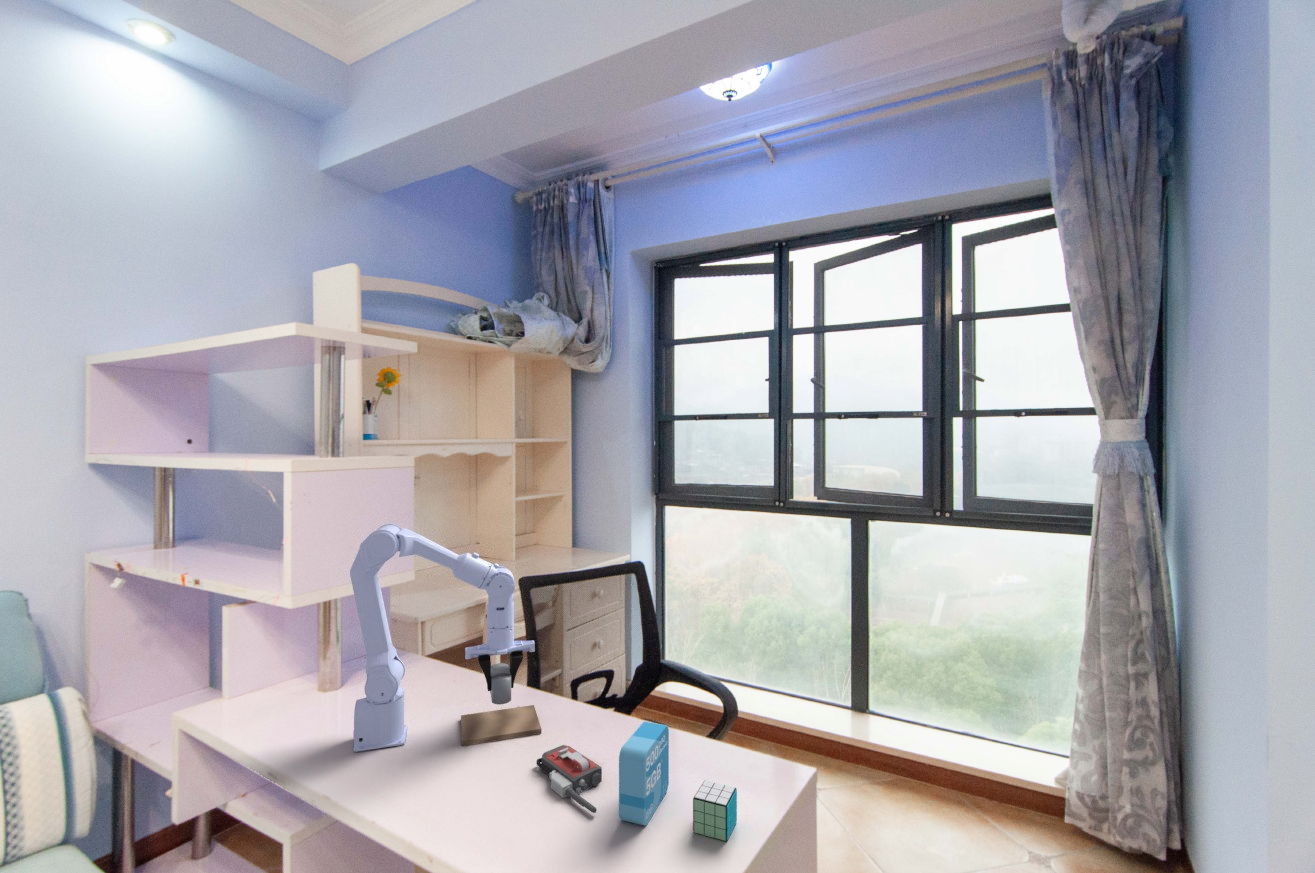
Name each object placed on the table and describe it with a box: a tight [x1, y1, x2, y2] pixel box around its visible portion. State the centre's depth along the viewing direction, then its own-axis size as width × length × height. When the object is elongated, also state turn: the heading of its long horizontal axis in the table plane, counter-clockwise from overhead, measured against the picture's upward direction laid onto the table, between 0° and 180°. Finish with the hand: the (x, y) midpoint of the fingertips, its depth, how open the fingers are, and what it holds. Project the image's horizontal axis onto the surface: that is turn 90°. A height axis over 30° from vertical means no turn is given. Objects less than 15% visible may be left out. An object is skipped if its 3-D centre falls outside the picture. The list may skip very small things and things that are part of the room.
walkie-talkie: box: [535, 744, 603, 814], centre depth 109 cm, size 9×4×20 cm
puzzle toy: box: [692, 779, 738, 842], centre depth 97 cm, size 6×6×6 cm
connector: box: [489, 662, 512, 705], centre depth 132 cm, size 4×13×5 cm, turn 19°
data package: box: [618, 721, 670, 826], centre depth 103 cm, size 12×4×12 cm, turn 160°
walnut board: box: [460, 704, 542, 747], centre depth 131 cm, size 16×12×1 cm
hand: (500, 687), depth 131 cm, fingers closed on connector, 4 cm apart
